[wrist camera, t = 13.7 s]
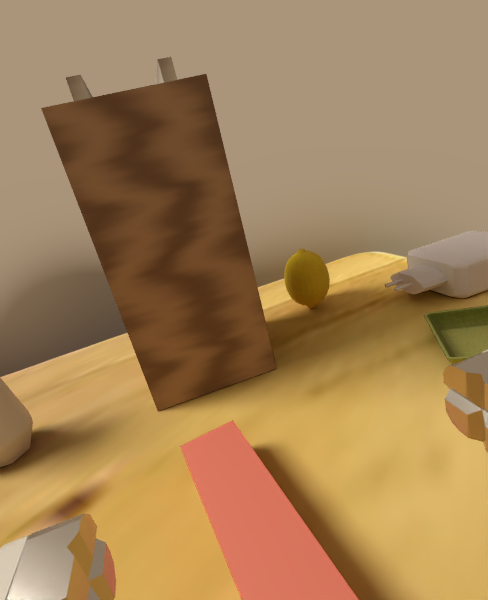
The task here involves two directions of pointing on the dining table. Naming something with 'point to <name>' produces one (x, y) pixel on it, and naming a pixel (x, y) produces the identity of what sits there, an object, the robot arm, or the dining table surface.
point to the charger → (447, 267)
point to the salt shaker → (13, 426)
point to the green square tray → (460, 331)
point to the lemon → (306, 278)
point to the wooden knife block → (166, 230)
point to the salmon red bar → (258, 523)
